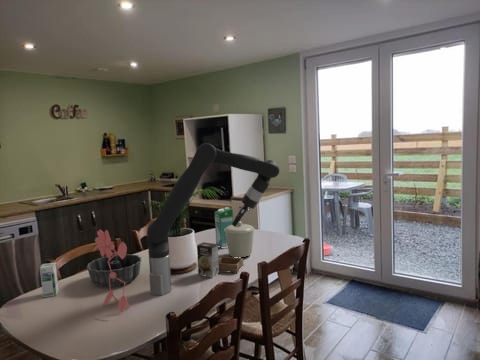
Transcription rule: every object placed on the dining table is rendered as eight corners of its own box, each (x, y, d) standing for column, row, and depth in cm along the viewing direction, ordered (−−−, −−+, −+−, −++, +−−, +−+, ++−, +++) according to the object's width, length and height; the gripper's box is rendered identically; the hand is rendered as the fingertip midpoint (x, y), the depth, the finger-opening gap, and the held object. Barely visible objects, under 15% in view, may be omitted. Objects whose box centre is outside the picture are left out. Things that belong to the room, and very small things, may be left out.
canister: (256, 260, 206) (254, 224, 203) (224, 261, 206) (222, 225, 204) (255, 250, 224) (254, 217, 221) (226, 251, 224) (224, 218, 222)
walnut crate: (237, 273, 187) (236, 265, 186) (214, 271, 191) (213, 263, 191) (243, 266, 197) (243, 258, 196) (221, 264, 201) (221, 256, 200)
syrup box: (42, 297, 167) (39, 267, 165) (45, 292, 172) (42, 263, 170) (56, 296, 168) (53, 265, 166) (58, 291, 174) (55, 261, 172)
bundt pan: (98, 272, 196) (96, 255, 195) (147, 269, 198) (145, 252, 197) (80, 293, 170) (78, 272, 169) (137, 289, 172) (135, 269, 171)
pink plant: (109, 296, 165) (101, 221, 160) (143, 312, 149) (135, 229, 144) (76, 310, 153) (66, 230, 148) (109, 329, 137) (100, 239, 132)
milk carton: (216, 245, 237) (214, 208, 234) (228, 243, 241) (227, 206, 238) (221, 249, 229) (219, 210, 226) (234, 246, 233) (232, 208, 230)
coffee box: (197, 275, 186) (196, 245, 184) (204, 271, 192) (203, 241, 190) (212, 278, 182) (211, 247, 180) (219, 273, 188) (218, 243, 186)
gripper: (249, 189, 182) (232, 214, 186) (243, 195, 169) (225, 222, 173) (261, 197, 182) (244, 223, 186) (256, 204, 168) (238, 231, 172)
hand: (235, 222), depth 179 cm, fingers open, 8 cm apart
